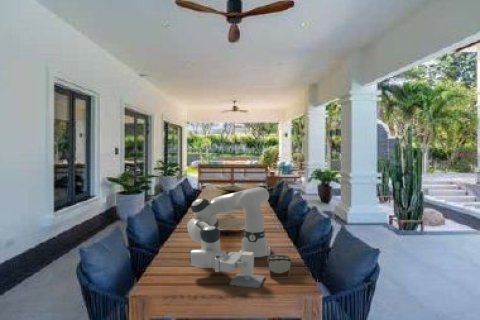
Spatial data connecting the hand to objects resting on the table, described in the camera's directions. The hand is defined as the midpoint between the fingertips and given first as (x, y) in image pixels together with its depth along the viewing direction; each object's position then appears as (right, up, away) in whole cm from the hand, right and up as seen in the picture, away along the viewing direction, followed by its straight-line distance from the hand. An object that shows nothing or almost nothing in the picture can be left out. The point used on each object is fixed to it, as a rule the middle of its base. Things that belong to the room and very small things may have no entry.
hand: (248, 262), depth 200 cm
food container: (+15, -9, +9) cm, 20 cm away
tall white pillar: (0, -5, +1) cm, 6 cm away
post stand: (0, -9, +1) cm, 9 cm away
